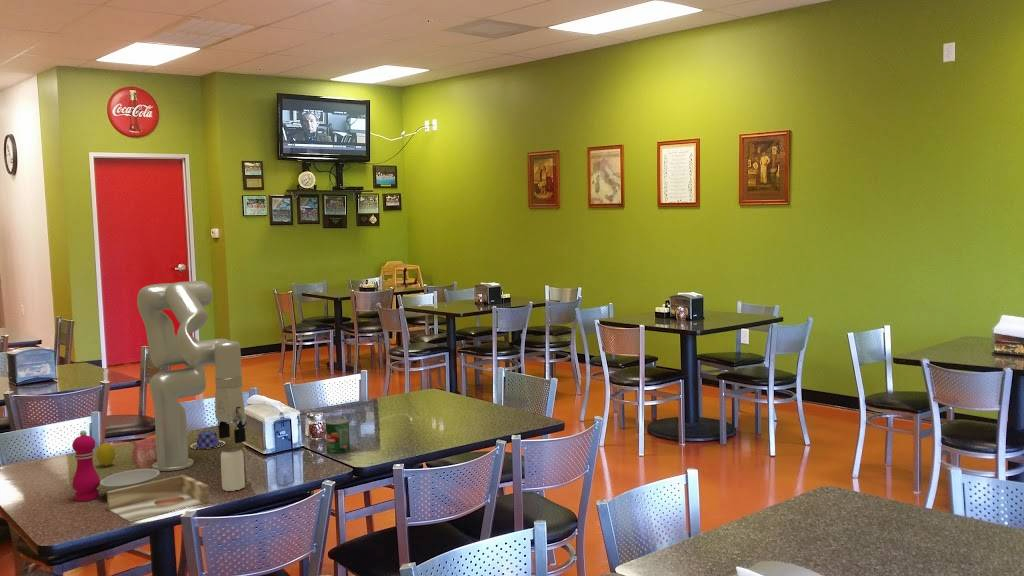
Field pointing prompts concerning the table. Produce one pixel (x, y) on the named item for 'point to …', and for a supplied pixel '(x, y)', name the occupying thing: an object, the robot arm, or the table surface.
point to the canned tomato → (337, 436)
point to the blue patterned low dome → (207, 440)
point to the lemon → (105, 454)
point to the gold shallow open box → (157, 497)
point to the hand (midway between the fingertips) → (232, 439)
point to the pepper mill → (85, 469)
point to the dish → (129, 478)
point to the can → (232, 469)
